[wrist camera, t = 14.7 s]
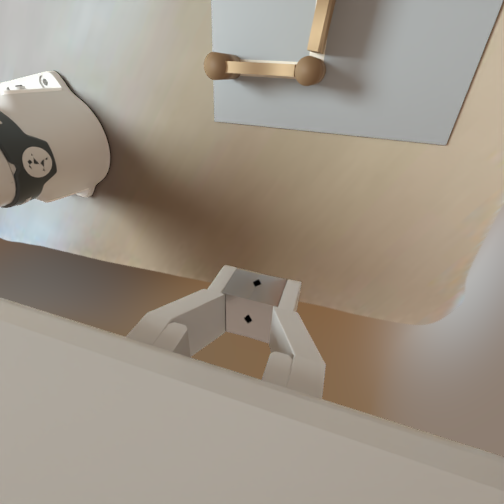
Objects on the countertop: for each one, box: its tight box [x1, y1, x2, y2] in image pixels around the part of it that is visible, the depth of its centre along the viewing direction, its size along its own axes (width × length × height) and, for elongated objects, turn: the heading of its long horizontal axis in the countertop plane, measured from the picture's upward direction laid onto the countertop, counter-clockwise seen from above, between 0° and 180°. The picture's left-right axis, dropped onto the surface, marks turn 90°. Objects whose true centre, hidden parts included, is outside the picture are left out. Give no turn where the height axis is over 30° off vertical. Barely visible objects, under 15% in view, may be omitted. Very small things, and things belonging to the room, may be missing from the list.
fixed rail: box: [204, 52, 326, 86], centre depth 30 cm, size 12×2×5 cm, turn 88°
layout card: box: [211, 0, 503, 145], centre depth 28 cm, size 27×22×1 cm
